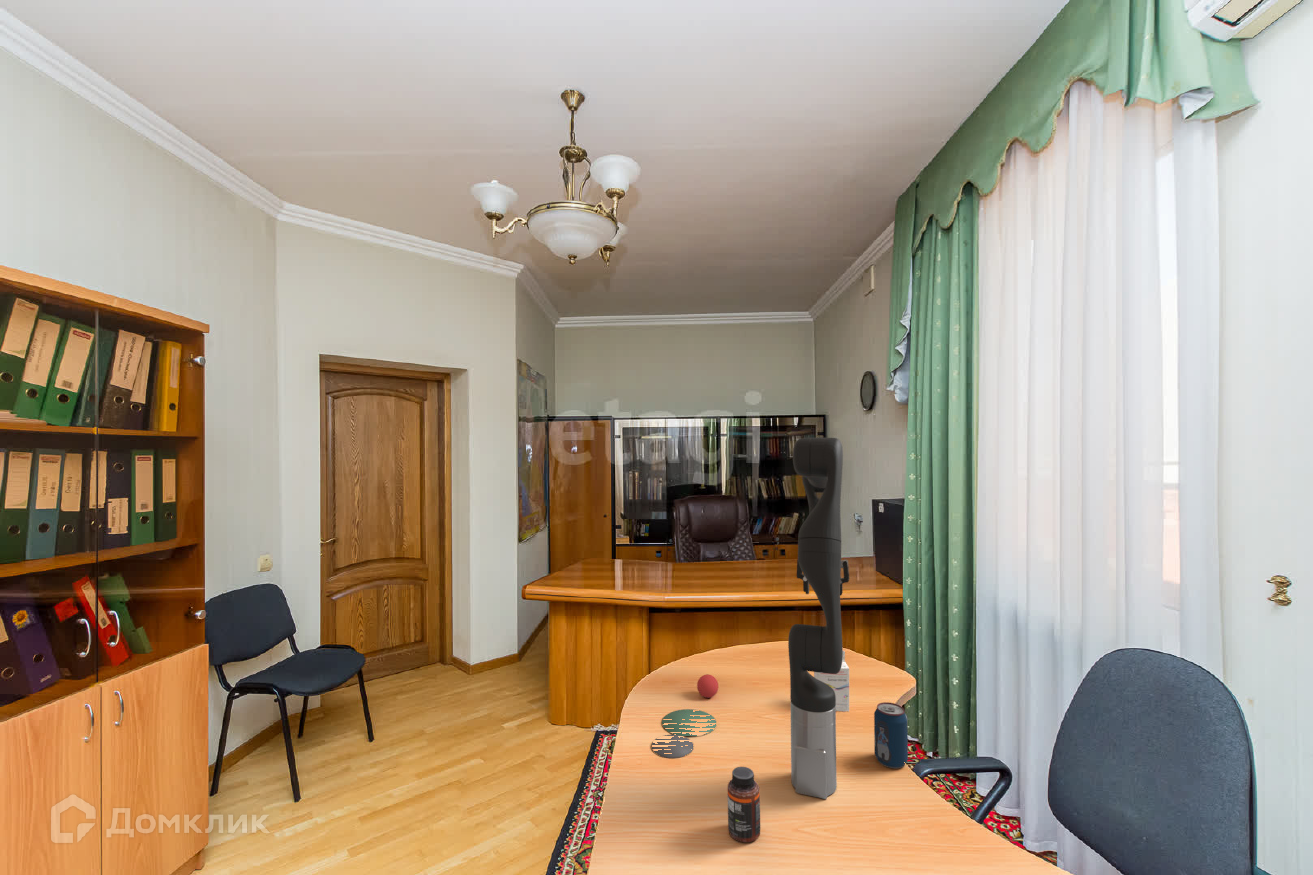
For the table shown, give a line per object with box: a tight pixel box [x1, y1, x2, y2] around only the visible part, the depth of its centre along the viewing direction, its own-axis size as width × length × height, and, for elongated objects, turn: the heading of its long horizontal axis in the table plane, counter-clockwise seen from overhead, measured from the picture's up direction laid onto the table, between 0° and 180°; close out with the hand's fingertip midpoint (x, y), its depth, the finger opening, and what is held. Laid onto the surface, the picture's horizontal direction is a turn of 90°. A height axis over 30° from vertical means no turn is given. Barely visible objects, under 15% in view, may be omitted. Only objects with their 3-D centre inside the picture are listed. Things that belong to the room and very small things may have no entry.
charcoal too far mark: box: [651, 734, 694, 759], centre depth 137 cm, size 10×10×1 cm
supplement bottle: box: [726, 766, 761, 843], centre depth 107 cm, size 6×6×11 cm
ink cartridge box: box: [813, 650, 850, 712], centre depth 156 cm, size 9×5×15 cm, turn 84°
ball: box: [696, 674, 719, 699], centre depth 163 cm, size 6×6×6 cm
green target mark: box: [661, 708, 717, 736], centre depth 148 cm, size 14×14×1 cm
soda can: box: [873, 701, 909, 769], centre depth 130 cm, size 7×7×12 cm
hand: (822, 595), depth 164 cm, fingers open, 8 cm apart
